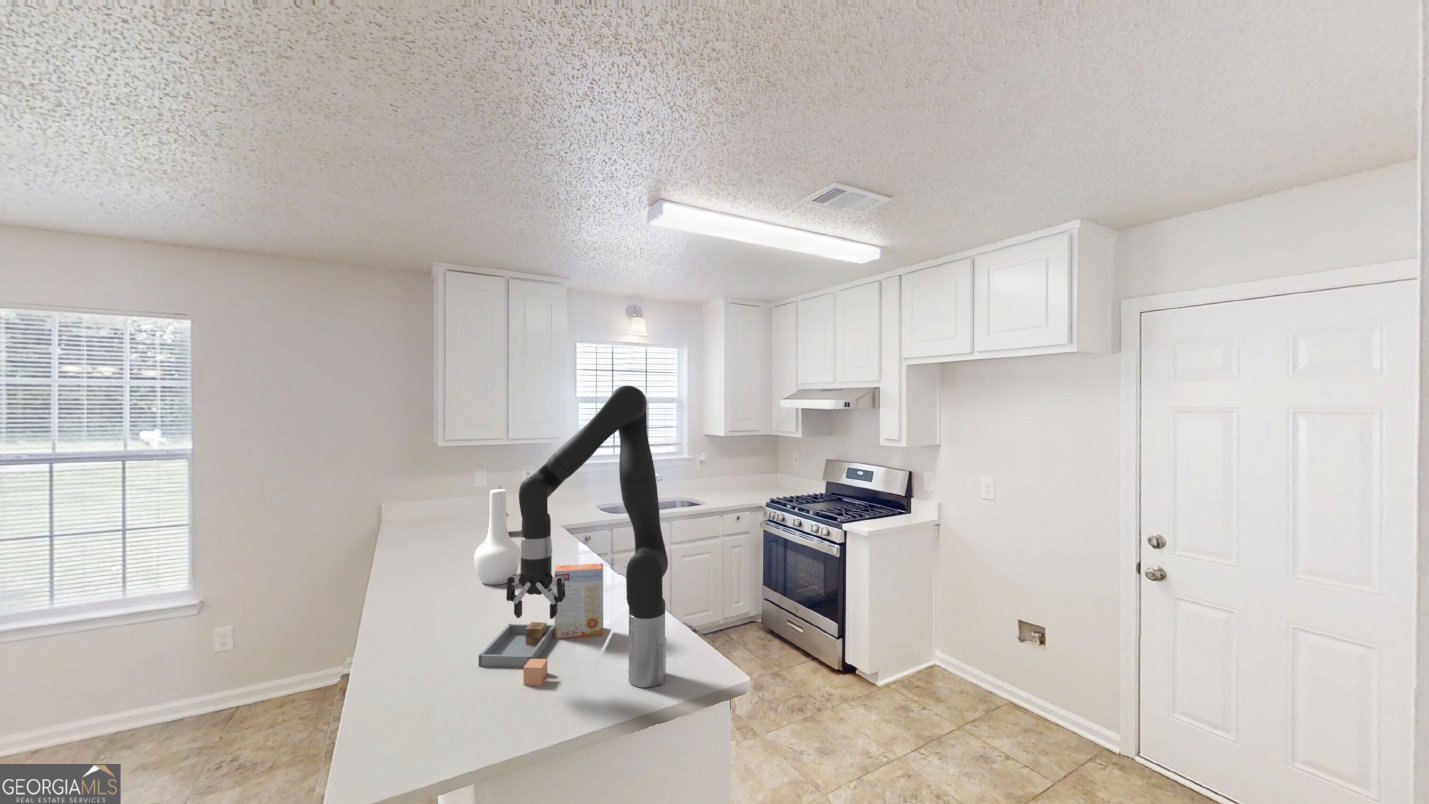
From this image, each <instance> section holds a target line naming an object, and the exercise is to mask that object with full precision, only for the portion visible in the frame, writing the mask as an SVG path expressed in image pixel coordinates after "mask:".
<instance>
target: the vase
mask: <svg viewBox="0 0 1429 804" xmlns="http://www.w3.org/2000/svg"><path fill="white" fill-rule="evenodd" d="M506 513H507V490H506V489H502V488H501V489H498V488H497V489H491V490H490V491H489V520H488V521H489V522H488V523H489V524H488V531H487V536H486V539H485V540H484V542H482V543H481V544H480V545H479V546H478V547H477V549H475V552H474V557H473V558H474V559H473V560H474V566H475V570H476V574H477V576H478V578H479V580H480V582H481V583H483V584H484V585H487V586H488V585H489V586H492V585H495V586H496V585H503V584H506V583H507V580H508V578H509V577H510V576H511V575H513V574H514V575H516V574H517V573H518V570H519V567H520V560H521V547H520V546H519V544H518V543H517V542H515V541H514V540H512V538H511V537H510V534H509V532H508V525H507V524H508V522H507V518H506ZM516 576H517V575H516Z"/></svg>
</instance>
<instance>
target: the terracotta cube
mask: <svg viewBox="0 0 1429 804" xmlns="http://www.w3.org/2000/svg"><path fill="white" fill-rule="evenodd" d="M547 674H548V658H537V659H530V660H529V661H528V662H527V664H526V665H525V666H524V667H523V686H542V685H543V684H544V682H545V681H546V679H547V677H546V676H547Z"/></svg>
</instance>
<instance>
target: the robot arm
mask: <svg viewBox="0 0 1429 804" xmlns="http://www.w3.org/2000/svg"><path fill="white" fill-rule="evenodd" d="M647 407H648V401H647V397H646V396H645V393H644V392H643V391H642V390H641V389H639V388H637V387H635V386H633V385H622V386H619V387H618V388H616V389H615V390H614V391H613V392H612V393H611V395H610V396H609V398H608V399H607V400H606V402H605V403H604V404H603V405H602V406H601V408H600V409H599V411H598V412H597V413H596V414H595V416H593V417H592V418H591V419H590V421H588V422H587V424H585V425H584V426H583V427H582V428H580V430H579V431H577V433H575V434H574V435H573V436H572V437H571V438H570V439H568V440H567V441H566V442H565V443H563V445H562V446H561V447H559V448H558V449H557V450H556V451H555V452H554V453H553V454H552V455H551V456H550V457H549V458H548V460H547V461H546V463H544V464H543V465H542V466H541V467H540V468H539V469H537V471H535V472H534V473H532V474H531V476H529V477H527V478H525V479H524V480H523V481H522V482H521V484H520V485H519V489H518V490H519V491H518V504H519V509H520V510H519V511H520V516H521V540H520V563H519V567H520V570H519V571H520V575H518V576H517V575H514V574H513V575H511V576H510V577H509V578H508V580H507V585H506V595H505V596H506V601H507V602H512V603H513V606H514V607H513V615H514V616H515V617H516V619H520V618H521V617H522V615H523V600H522V599H523V598H524V596H526V594H528V595H529V596H532V595H537V596H538V595H539V596H541V595H543V596H544V598H545V599H547V600H548V601H549V603H550V604H549V619H551V620H553V619H555V616H556V614H557V610H558V609H557V608H558V602H562V601H563V599H564V598H565V581H564V576H563V575H561V576H560V577H555V576H553V573H552V571H553V570H552V567H553V565H552V560H553V559H552V556H553V554H552V553H553V545H552V534H551V533H552V531H551V530H552V523H551V522H552V521H551V515H550V513H548V498H549V497H550V496H551V495H552V494H554V492H555V491H556V490H557V489H558V488H560V486H561V485H562V484H563V482H564V481H565V480H567V479H569V478H570V477H571V476H572V475H574V473H576V472H577V471H578V470H579V469H580V468H581V467H582V466H583V465H584V464H585V463H587V461H588V460H589V459H590V458H591V457H592V456H593V455H594V454H595V452H597V450H599V448H600V447H601V446H602V445H603V443H604V442H606V441H607V440H608V439H609V438H610V437H611V436H612V435H614V434H616V432H617V431H618V434H619V443H620V444H619V445H620V446H619V447H620V448H619V465H618V467H619V471H618V472H619V483H620V485H619V486H620V493H621V499H622V503H623V506H624V508H625V511H626V513H627V515H628V517H629V520H630V522H631V525H632V529H633V534H634V536H633V537H634V555H632V557H631V558H630V560H629V561H628V562H627V566H626V571H625V572H626V576H625V583H626V602H627V606H628V670H627V672H628V682H629V683H630V684H631V686H634V687H638V688H654V687H656V686H660V685H662V686H663V685H664V683H665V679H666V678H665V677H666V674H667V636H666V601H665V599H664V598H663V577H664V576H665V574H666V573H667V570H668V566H669V560H668V555H667V550H666V547H665V546H666V545H665V542H664V538H663V537H664V536H663V533H662V528H661V527H662V526H661V520H660V518H661V517H660V516H661V515H660V505H659V496H658V495H659V493H658V485H657V476H656V471H655V470H656V469H655V465H654V459H653V455H652V450H651V447H650V442H649V436H648V421H647V420H648V418H647V417H648V411H647V410H648V409H647ZM518 583H519V584H520V586H521V587H522V589H521V590H520V591H519V592H518V594H516V585H517V584H518ZM552 583H554V587H555V586H557V595H556V594H555V589H553V587H552V585H551V584H552Z"/></svg>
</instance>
